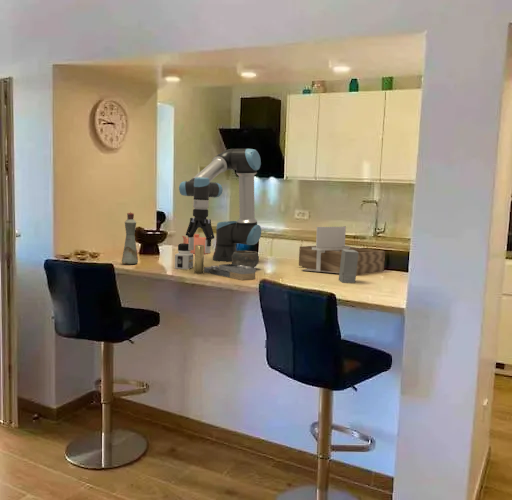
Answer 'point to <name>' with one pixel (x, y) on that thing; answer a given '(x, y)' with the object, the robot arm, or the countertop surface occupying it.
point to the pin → (199, 259)
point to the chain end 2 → (239, 271)
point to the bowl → (245, 258)
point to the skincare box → (348, 266)
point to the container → (183, 257)
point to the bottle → (130, 241)
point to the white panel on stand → (328, 243)
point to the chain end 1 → (216, 271)
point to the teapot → (196, 242)
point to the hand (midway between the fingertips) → (199, 251)
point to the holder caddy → (332, 259)
